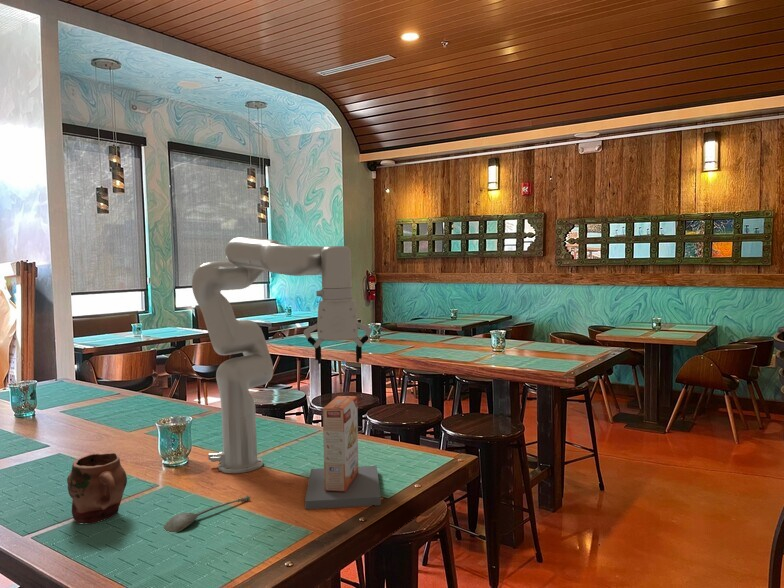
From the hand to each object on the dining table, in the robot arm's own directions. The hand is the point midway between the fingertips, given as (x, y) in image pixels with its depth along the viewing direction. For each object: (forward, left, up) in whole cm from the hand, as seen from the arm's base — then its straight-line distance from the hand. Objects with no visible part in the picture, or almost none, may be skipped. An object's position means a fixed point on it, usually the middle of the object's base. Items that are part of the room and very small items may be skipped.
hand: (338, 362), depth 149 cm
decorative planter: (-57, -9, -33) cm, 66 cm away
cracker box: (0, 0, -31) cm, 31 cm away
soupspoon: (-31, -11, -34) cm, 47 cm away
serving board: (0, 0, -33) cm, 33 cm away
